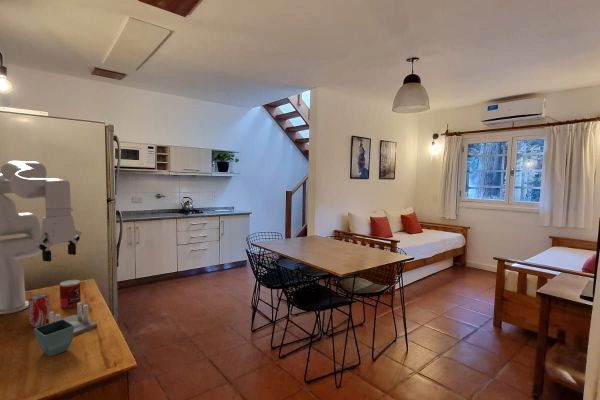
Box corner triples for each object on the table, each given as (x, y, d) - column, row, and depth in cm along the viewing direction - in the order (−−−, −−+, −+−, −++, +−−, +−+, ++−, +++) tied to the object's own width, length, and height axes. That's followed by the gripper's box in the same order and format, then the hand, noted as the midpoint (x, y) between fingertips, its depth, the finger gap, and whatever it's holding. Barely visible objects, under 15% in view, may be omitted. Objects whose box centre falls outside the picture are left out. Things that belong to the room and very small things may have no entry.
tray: (38, 330, 124) (37, 309, 123) (74, 317, 135) (74, 298, 135) (60, 341, 116) (59, 319, 116) (97, 326, 128) (96, 306, 127)
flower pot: (45, 362, 104) (44, 336, 103) (34, 353, 108) (33, 328, 108) (75, 350, 111) (74, 325, 110) (64, 342, 116) (63, 318, 115)
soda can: (42, 319, 132) (40, 291, 131) (53, 322, 130) (52, 293, 129) (25, 326, 126) (24, 297, 125) (37, 329, 124) (35, 299, 123)
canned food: (70, 309, 142) (69, 286, 141) (55, 307, 144) (54, 284, 143) (85, 303, 149) (84, 280, 148) (71, 301, 151) (70, 278, 150)
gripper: (72, 209, 127) (73, 251, 129) (25, 214, 110) (27, 262, 112) (87, 210, 125) (88, 253, 127) (42, 216, 109) (44, 264, 110)
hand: (60, 257), depth 119 cm, fingers open, 9 cm apart
